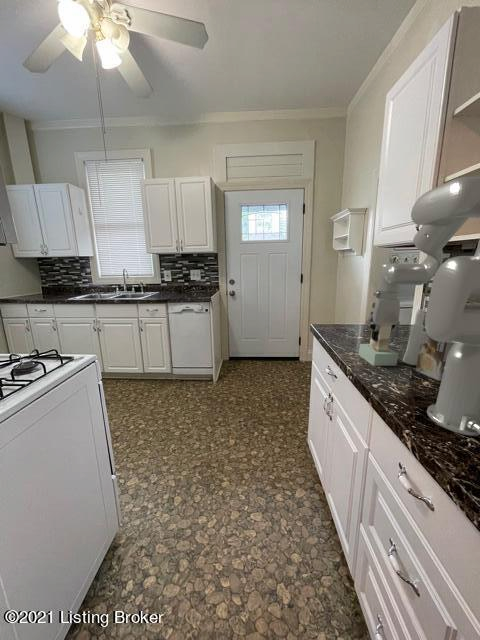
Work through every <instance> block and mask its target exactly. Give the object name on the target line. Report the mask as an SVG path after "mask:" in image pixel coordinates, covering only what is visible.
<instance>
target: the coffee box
mask: <svg viewBox="0 0 480 640" xmlns="http://www.w3.org/2000/svg"><path fill="white" fill-rule="evenodd" d="M454 344H455V343H447V342H438V341H435V340H433V339H432V338H430V337H429V336H428V334H427V333H426V330H423V334H422V339H421V344H420V350H419V355H418V360H417V365H415V366H416V367H415V371H416V372H417V373H420V374H423V375H425V376H427V377H429V378H432V379H434V380H436V381H439V382H441V381H442V376H443V372H444V368H445V363H446V359H447V355H448V353H449V351H450V349H451V348H452V346H453V345H454Z"/></svg>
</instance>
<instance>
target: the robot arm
mask: <svg viewBox="0 0 480 640" xmlns="http://www.w3.org/2000/svg"><path fill="white" fill-rule="evenodd" d="M415 201H416V202H415V203H414V204H413V206H412V209H411V213H410V217H411V221H412V223H414V224H415V225H418V226H419V225H420V226H421V227H420V228H419V229H418V231H417V232H416V234H415V235H414V236H413V241H412V242H413V244H414V246H415V247H416V249H418V250H419V251H420V252H422V253H424V254H426V255H427V256H426V257H425V259H424V260H423V261H422V262H421V263H395V262H394V263H393V262H386V263H382V264H381V266H380V268H379V274H378V280H377V281H378V282H377V287H376V288H377V289H376V292H373V296H374V298H373V301H372V303H371V306H370V310H369V311H370V312H369V316H368V318H367V319H366V321H365V322H364V324H365V325H367V326H368V327H369V328H370V330H371V333H372V335H370V340H371V339H373V340H374V341H377V339H378V328H379V325H382V323H392V327H391V332H392V331H393V329H394V328H396V327H397V326H399V325H400V312H401V304H400V303H401V300H400V299H399V293H400V287H401V286H422V285H425V284H427V283H428V282H429V281H431V280H432V285H431V287H430V292H429V297H428V301H427V306H426V310H425V316H424V329H425V330H426V333H427V334H428V336H429V337H430V338H432V339H433V340H435V341H438V342H447V343H455V344H454V345H453V346H452V348H451V349H450V351H449V353H448V355H447V359H446V363H445V368H444V372H443V376H442V380H441V381H440V386H439V390H438V394H437V398H436V402H435V404H431V405H429V406H428V407H427V410H426V413H427V417H429V418H430V419H431V420H432V421H433V422H434V423H435V424H437V425H439V426H440V427H442V428H444V429H446V430H449V431H452V432H455V433H456V434H457V433H458V434H461V435H464V436H469V437H472V436H473V437H479V436H478V435H480V302H479V303H478V302H475V303H474V302H471V303H470V302H468V299H480V238H479V239H478V243H477V248H476V250H475V253H474V254H473V255H458V256H453V257H450V258H448V259H445V261H444V252H443V251H444V250H443V248H444V247H445V246H446V245H447V244H448V243H449V241H450V240H452V238H453V237H454V236H455V235H456V233H457V232H458V231H459V230H460V229H461V228H462V226H463V225H464V224H465V223H466V222H467V221H468V220H469V218H478V219H479V218H480V176H462V177H457V178H455V179H453V180H450V181H447V182H445V183H443V184H441V185H439V186H436V187H434V188H432V189H430V190H428V191H426V192H424V193H423V194H421V196H420V197H419V198H417V200H415ZM443 261H444V262H443ZM425 330H424V331H425Z"/></svg>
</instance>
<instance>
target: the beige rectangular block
mask: <svg viewBox="0 0 480 640" xmlns="http://www.w3.org/2000/svg"><path fill="white" fill-rule="evenodd" d="M391 327H392V323H382V325H379V328H378V339H377V341H374V340H373V339H371V338H370V341H369V344H370V346H369V347H370V348H372V349H374V350H375V351H377V352H387V350H388V348H389V343H390V337H391V332H392V331H391ZM370 334H371V335H372V332H371V333H370ZM371 335H370V336H371Z"/></svg>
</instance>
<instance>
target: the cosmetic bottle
mask: <svg viewBox="0 0 480 640" xmlns="http://www.w3.org/2000/svg"><path fill="white" fill-rule="evenodd" d="M425 315H426V310H425V309H417V311H416V313H415V320H414V323H413V324H412V326H411V331H410V335H409V338H408V343H407V345H406V351H405V353H404V355H403V359H402V362H403V363H404V364H408V365H410V366H417V360H418V355H419V350H420V344H421V339H422V334H423V331H424V329H425V324H424V322H425Z"/></svg>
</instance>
